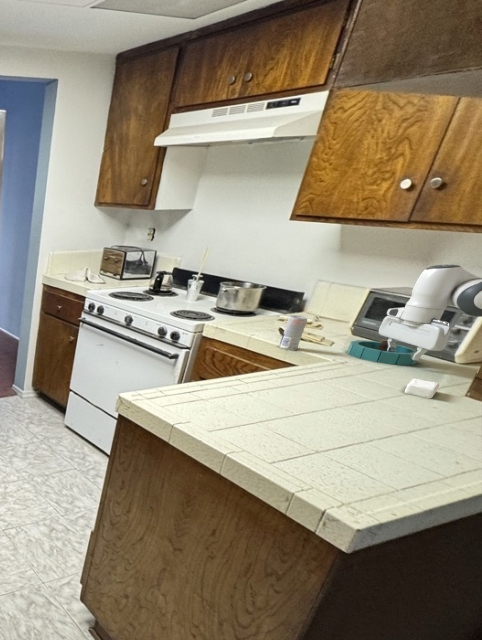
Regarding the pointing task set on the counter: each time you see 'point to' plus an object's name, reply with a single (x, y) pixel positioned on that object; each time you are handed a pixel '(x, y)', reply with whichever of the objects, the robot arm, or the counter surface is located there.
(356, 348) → the ring
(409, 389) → the soap
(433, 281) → the robot arm
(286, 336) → the energy drink
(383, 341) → the peg stand
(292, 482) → the counter surface
